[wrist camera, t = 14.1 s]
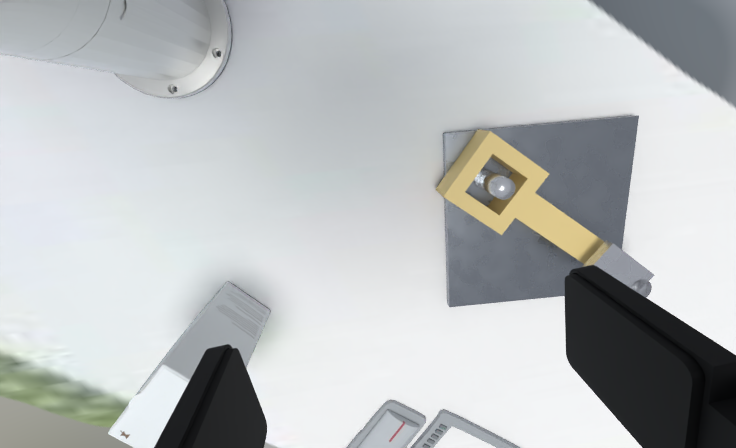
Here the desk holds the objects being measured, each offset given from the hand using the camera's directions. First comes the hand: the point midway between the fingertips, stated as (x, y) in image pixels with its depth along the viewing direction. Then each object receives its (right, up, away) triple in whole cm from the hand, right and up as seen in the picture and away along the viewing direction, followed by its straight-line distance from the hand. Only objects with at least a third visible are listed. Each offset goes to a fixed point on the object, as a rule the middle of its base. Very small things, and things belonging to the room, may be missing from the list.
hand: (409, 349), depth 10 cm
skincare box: (-18, -7, +33) cm, 38 cm away
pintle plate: (+18, +4, +31) cm, 36 cm away
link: (+16, +6, +30) cm, 34 cm away
